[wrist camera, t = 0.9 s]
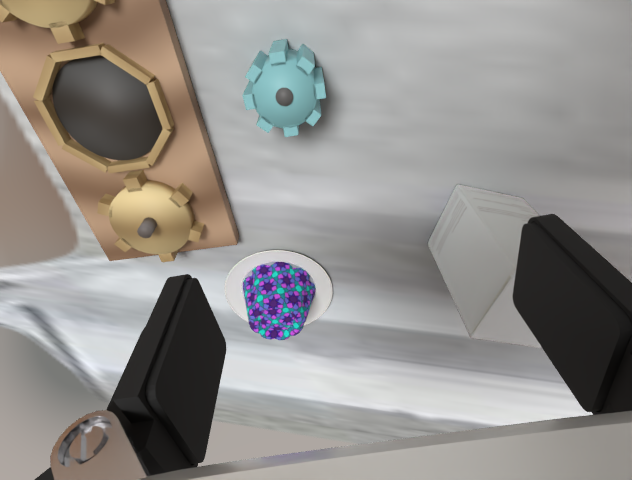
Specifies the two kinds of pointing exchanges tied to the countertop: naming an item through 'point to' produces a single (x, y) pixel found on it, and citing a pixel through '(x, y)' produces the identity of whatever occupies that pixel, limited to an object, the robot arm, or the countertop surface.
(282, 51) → the loose gear
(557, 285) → the robot arm
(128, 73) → the gear board
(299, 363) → the countertop surface
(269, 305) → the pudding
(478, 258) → the supplement box
